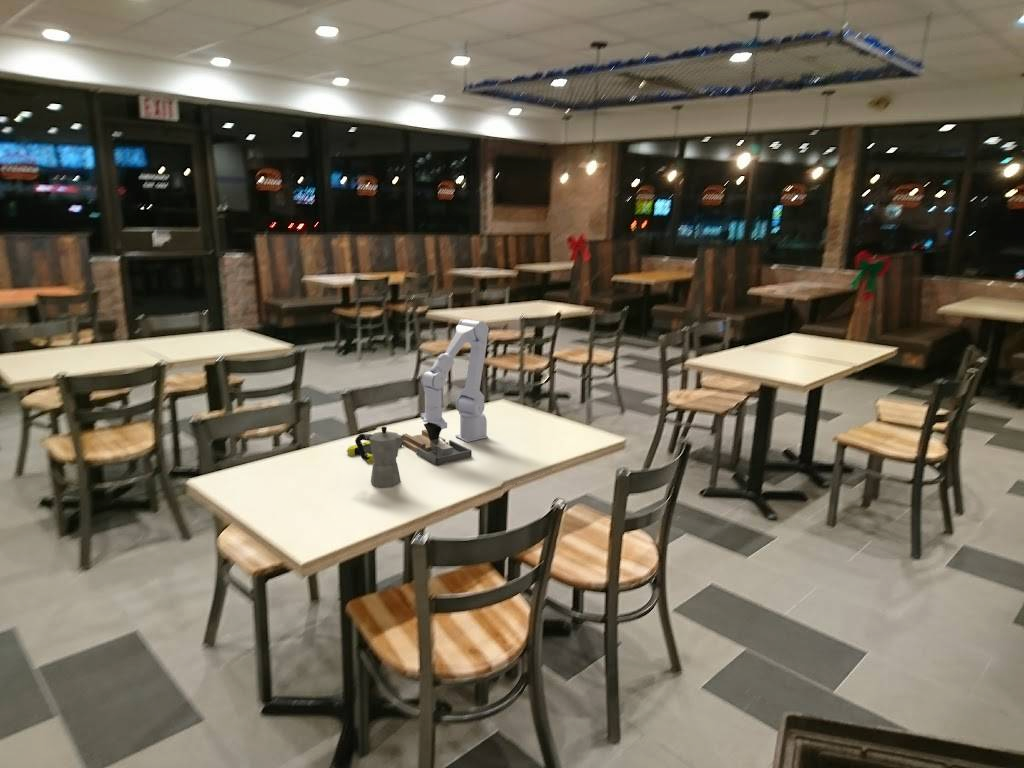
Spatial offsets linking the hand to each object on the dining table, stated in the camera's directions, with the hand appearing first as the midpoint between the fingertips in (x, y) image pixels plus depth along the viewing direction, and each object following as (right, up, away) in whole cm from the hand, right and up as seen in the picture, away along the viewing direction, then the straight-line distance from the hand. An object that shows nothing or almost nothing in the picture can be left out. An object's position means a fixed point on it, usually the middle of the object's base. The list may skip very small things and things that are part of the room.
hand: (434, 443), depth 233 cm
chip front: (+4, -4, -5) cm, 7 cm away
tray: (+4, -4, -4) cm, 7 cm away
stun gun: (-19, -4, -2) cm, 19 cm away
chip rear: (+1, -2, -2) cm, 3 cm away
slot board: (-4, -1, +6) cm, 8 cm away
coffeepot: (-13, -10, -28) cm, 32 cm away
